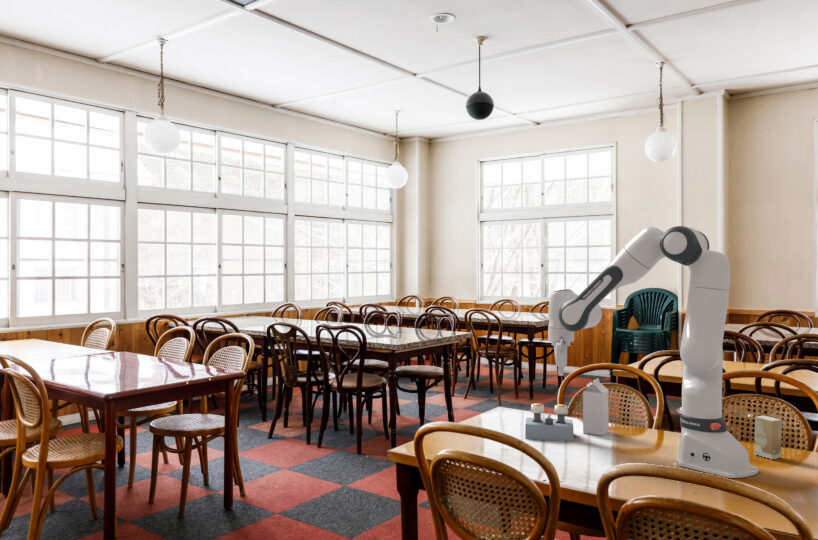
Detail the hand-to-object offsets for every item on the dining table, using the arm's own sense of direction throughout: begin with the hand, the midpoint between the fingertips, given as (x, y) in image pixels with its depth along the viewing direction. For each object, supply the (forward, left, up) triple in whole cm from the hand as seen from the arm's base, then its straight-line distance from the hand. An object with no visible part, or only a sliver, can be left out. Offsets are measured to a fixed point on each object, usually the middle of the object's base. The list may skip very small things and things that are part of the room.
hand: (560, 375), depth 221 cm
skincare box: (-49, -41, -22) cm, 67 cm away
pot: (0, +5, -16) cm, 17 cm away
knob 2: (0, 0, -18) cm, 18 cm away
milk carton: (-2, -15, -22) cm, 26 cm away
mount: (+2, +3, -21) cm, 22 cm away
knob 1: (+5, +6, -18) cm, 20 cm away
